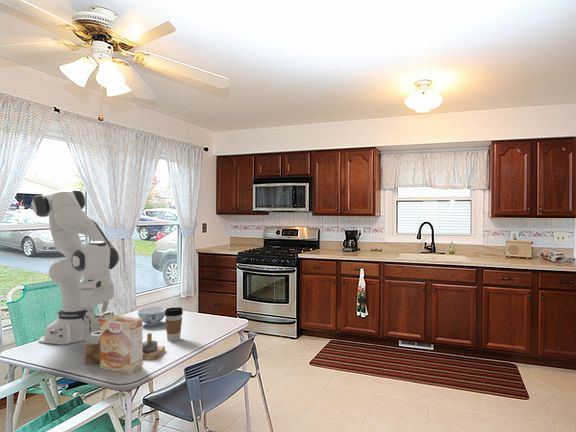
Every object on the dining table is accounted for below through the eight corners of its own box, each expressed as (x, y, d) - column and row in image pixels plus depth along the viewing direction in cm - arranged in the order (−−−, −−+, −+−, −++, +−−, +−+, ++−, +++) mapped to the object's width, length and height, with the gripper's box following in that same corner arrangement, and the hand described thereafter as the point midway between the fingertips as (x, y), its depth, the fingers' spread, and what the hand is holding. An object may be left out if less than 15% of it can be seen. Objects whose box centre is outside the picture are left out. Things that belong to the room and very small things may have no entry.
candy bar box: (107, 346, 174) (107, 310, 174) (114, 348, 172) (114, 311, 172) (83, 353, 165) (83, 315, 165) (90, 355, 162) (90, 317, 162)
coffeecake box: (99, 368, 149) (99, 318, 149) (113, 362, 156) (114, 314, 156) (129, 374, 144) (129, 322, 144) (143, 367, 150) (143, 318, 150)
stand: (85, 364, 153) (85, 338, 153) (94, 358, 160) (94, 333, 160) (102, 364, 153) (102, 338, 153) (110, 358, 160) (110, 333, 160)
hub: (132, 358, 159) (132, 337, 159) (142, 350, 169) (142, 330, 169) (156, 359, 159) (156, 337, 159) (164, 350, 169) (165, 330, 169)
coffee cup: (177, 343, 179) (177, 311, 179) (161, 341, 180) (161, 310, 180) (185, 337, 187) (185, 306, 187) (170, 336, 189) (170, 305, 189)
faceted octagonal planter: (86, 344, 153) (86, 335, 153) (94, 339, 159) (94, 330, 159) (101, 344, 153) (101, 335, 153) (109, 339, 159) (109, 330, 159)
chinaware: (155, 318, 220) (155, 305, 220) (172, 323, 211) (172, 309, 211) (132, 324, 207) (132, 310, 207) (148, 329, 199) (148, 315, 199)
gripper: (103, 276, 166) (103, 308, 166) (76, 285, 146) (76, 321, 146) (117, 276, 166) (118, 308, 166) (92, 285, 146) (93, 321, 146)
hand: (98, 314), depth 156 cm, fingers open, 8 cm apart
